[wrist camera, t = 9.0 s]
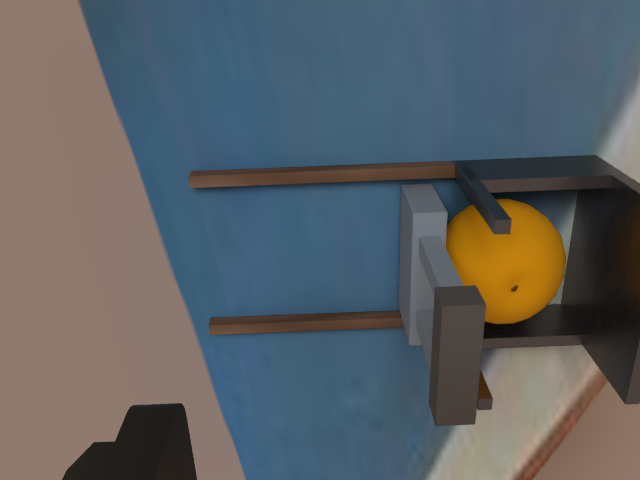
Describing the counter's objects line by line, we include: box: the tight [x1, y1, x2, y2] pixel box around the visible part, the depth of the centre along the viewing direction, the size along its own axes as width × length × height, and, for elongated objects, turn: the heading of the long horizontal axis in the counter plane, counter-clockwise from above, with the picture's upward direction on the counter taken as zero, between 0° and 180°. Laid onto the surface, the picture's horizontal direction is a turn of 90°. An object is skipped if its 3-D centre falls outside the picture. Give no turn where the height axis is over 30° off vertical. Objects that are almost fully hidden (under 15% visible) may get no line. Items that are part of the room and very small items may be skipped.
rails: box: [189, 161, 455, 335], centre depth 41 cm, size 12×17×1 cm
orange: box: [446, 198, 566, 324], centre depth 38 cm, size 8×8×8 cm
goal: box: [452, 155, 640, 410], centre depth 37 cm, size 12×9×10 cm
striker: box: [398, 184, 486, 426], centre depth 35 cm, size 9×2×14 cm, turn 2°
